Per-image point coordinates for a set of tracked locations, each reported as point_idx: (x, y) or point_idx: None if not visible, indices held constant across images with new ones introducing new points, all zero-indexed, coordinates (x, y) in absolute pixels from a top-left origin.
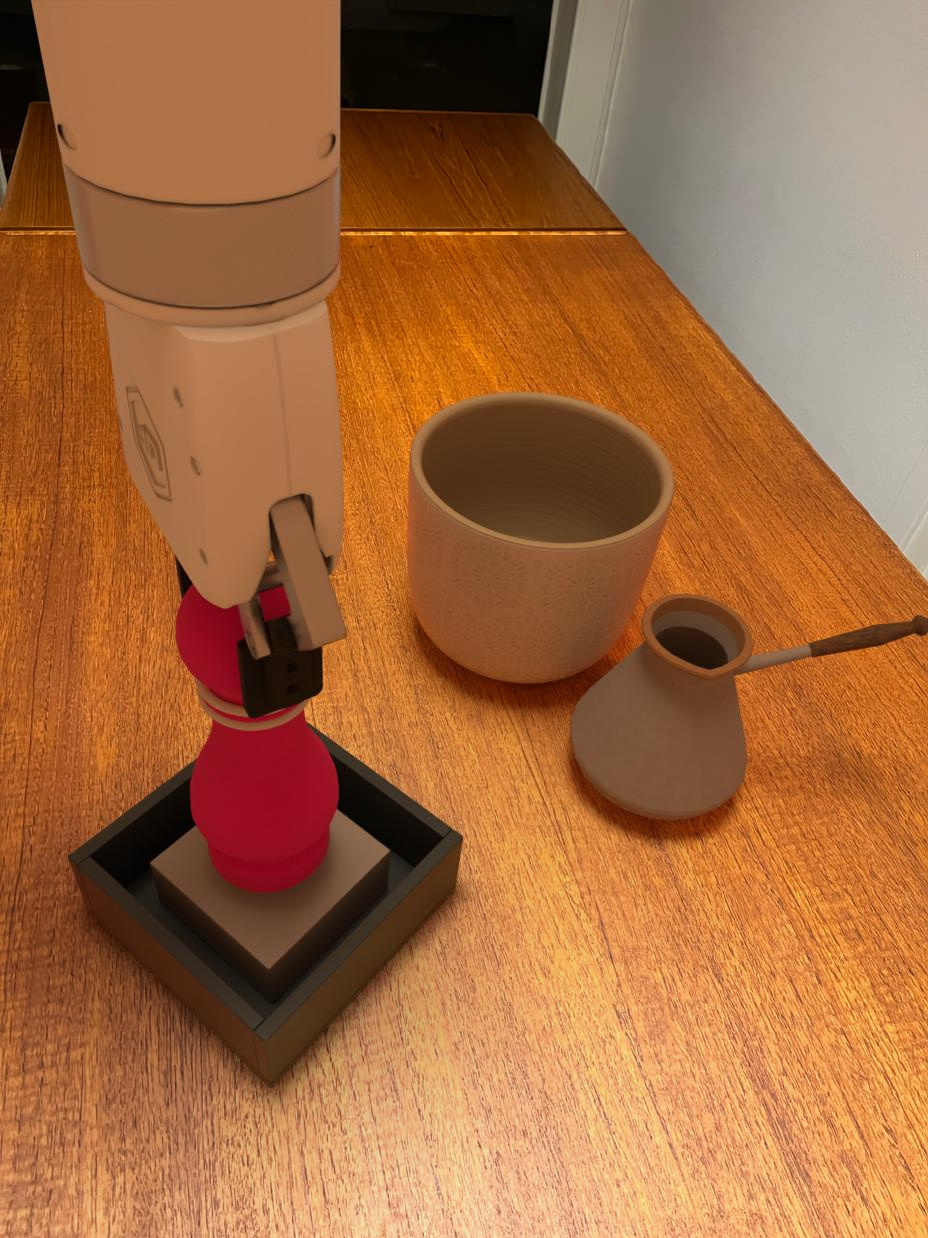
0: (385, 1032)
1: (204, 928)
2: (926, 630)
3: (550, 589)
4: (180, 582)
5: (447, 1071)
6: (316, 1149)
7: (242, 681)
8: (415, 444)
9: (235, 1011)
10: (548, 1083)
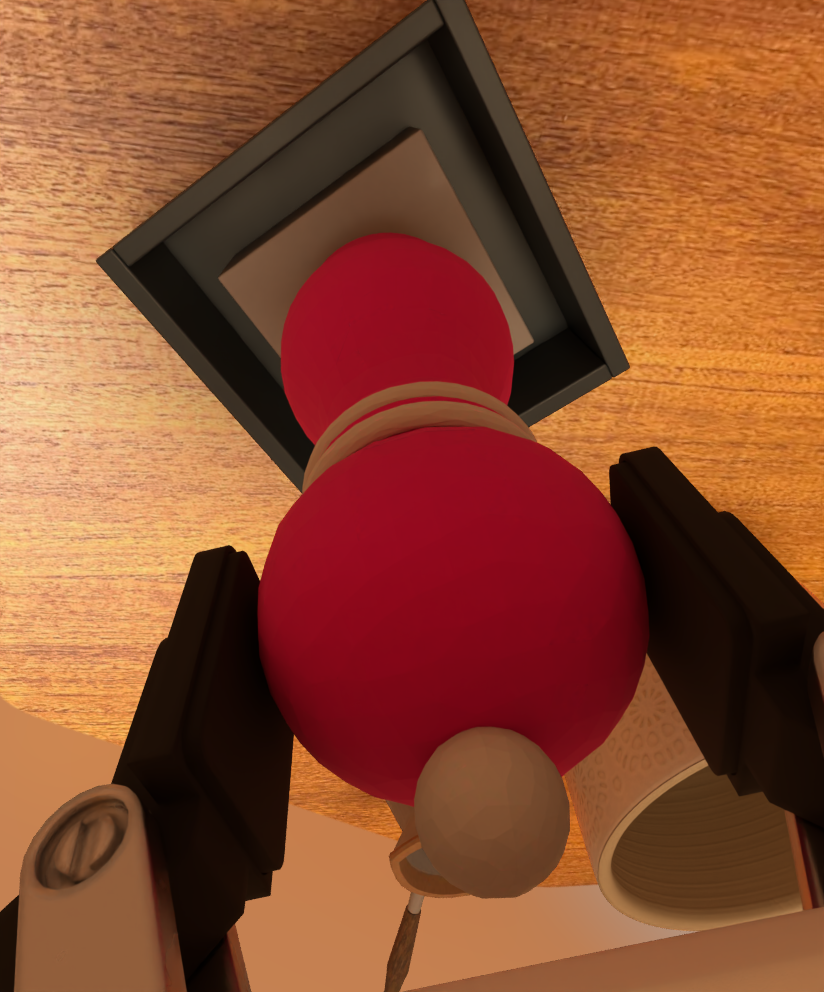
0: (191, 371)
1: (326, 191)
2: None
3: (591, 759)
4: (674, 493)
5: (141, 420)
6: (67, 271)
7: (186, 631)
8: None
9: (141, 228)
10: (121, 503)
